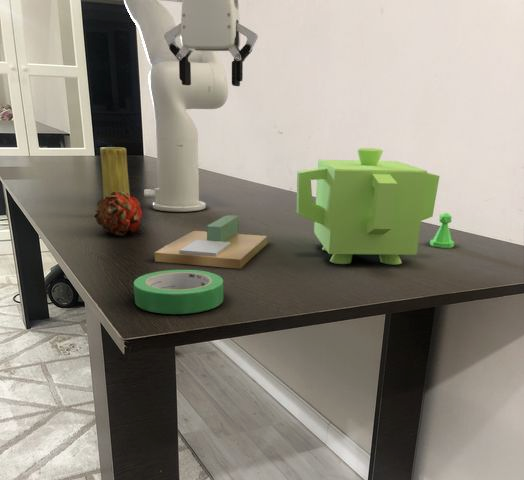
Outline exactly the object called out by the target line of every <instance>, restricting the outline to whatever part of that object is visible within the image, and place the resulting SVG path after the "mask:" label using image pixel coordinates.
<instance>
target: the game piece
mask: <svg viewBox="0 0 524 480" xmlns="http://www.w3.org/2000/svg"><path fill="white" fill-rule="evenodd" d="M438 219H439V220H438V221H439V223H441V224H440V225H439V228H438V230H437V231H436V233H435V235H434V237H433V238H432V239H430V240H429V245H430V246H431V247H435V248H440V249H451V248H453V247H455V241H453V240H452V236H451V232H450V227H449V224H450V223H452V214H449V213H448V212H444V213H442V214H439V217H438Z"/></svg>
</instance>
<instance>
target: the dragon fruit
mask: <svg viewBox="0 0 524 480" xmlns="http://www.w3.org/2000/svg"><path fill="white" fill-rule="evenodd" d="M96 206H97V207H96V210H95V213H94V218H95V221H96V224H97V225H99V226H101V227H102V229H103V230H105V231H106V232H107V233H109V234H113V235H116V236H125V235H126V234H127V233H128V232H131V233H134V232H138V231H139V230H140V228H141V220H142V218H143V210H142V207H141V203H140V202H139V200H138V199H137V198H136V197H135V196H130V197H129V194H128V193H126V192H122V191H118V192H117V193H116V192H112V193H111V194H109V195H107V196H106V197H105V199H104V198H102V199H99V200H98V201H97V202H96Z"/></svg>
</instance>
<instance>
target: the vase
mask: <svg viewBox="0 0 524 480" xmlns="http://www.w3.org/2000/svg"><path fill="white" fill-rule="evenodd" d="M99 152H100V161H101V174H102V176H101V177H102V193H103V194H102V195H103V196H102V197H103V199H105V197H106V196H107V195H109V194H111V193H112V192H116V193H117V192H118V191H122V192H126V193H128V194H129V197H131V194H130V181H129V180H130V179H129V172H128V156H127V148H125V147H119V146H118V147H117V146H116V147H115V146H113V147H112V146H110V147H109V146H107V147H106V146H105V147H100V148H99Z"/></svg>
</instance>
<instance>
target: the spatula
mask: <svg viewBox="0 0 524 480" xmlns="http://www.w3.org/2000/svg"><path fill="white" fill-rule="evenodd" d="M206 232H207V240H195V241H194V242H192V243H190V244H189V245H187V246H185V247H184V248H182V249H180V250H179V253H180V254H189V255H201V256H213V257H216V256H218V255H219V254H220V253H222V252H223V251H224V250H226V249H227V248H228V247H230V246H231V242H225V241H227V240H228V239H229V238H231V237H232V236H234V235H235V234H239V215H232V214H231V215H230V214H226V215H224V216H222V217H220V218H219V219H217V220H215V221H213V222H211V223H209V224H208V225H206Z"/></svg>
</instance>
